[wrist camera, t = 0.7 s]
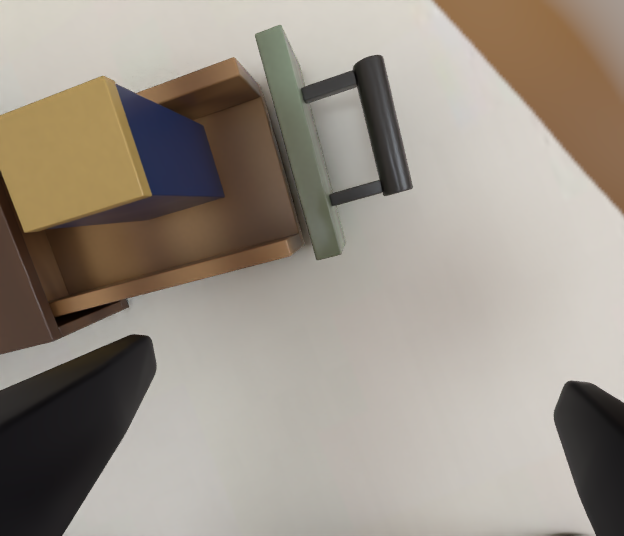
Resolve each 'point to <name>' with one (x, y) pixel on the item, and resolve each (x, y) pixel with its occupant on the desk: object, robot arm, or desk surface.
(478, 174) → the desk surface
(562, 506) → the desk surface
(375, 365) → the desk surface
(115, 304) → the cabinet
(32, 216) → the tea tin
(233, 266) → the drawer
